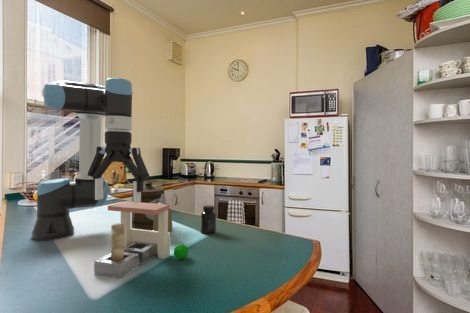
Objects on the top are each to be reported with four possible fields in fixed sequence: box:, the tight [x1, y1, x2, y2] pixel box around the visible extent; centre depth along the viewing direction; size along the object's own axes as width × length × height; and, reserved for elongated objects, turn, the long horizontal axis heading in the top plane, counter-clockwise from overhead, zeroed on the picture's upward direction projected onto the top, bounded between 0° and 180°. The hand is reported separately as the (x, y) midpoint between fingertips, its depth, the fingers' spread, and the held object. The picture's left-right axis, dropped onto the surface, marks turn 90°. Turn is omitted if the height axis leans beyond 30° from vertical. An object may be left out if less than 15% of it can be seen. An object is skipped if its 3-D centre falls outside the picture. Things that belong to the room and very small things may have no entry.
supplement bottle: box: [200, 204, 217, 236], centre depth 130 cm, size 7×7×12 cm
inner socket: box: [124, 241, 158, 265], centre depth 99 cm, size 9×9×4 cm
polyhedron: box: [173, 243, 189, 260], centre depth 99 cm, size 5×5×5 cm
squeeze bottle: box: [153, 193, 174, 235], centre depth 122 cm, size 8×8×18 cm
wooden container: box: [131, 180, 165, 231], centre depth 137 cm, size 15×15×22 cm
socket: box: [93, 252, 140, 279], centre depth 89 cm, size 9×9×4 cm
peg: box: [110, 223, 124, 261], centre depth 89 cm, size 4×4×14 cm
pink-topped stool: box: [107, 200, 171, 260], centre depth 100 cm, size 18×10×18 cm, turn 74°
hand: (117, 201), depth 88 cm, fingers open, 13 cm apart
